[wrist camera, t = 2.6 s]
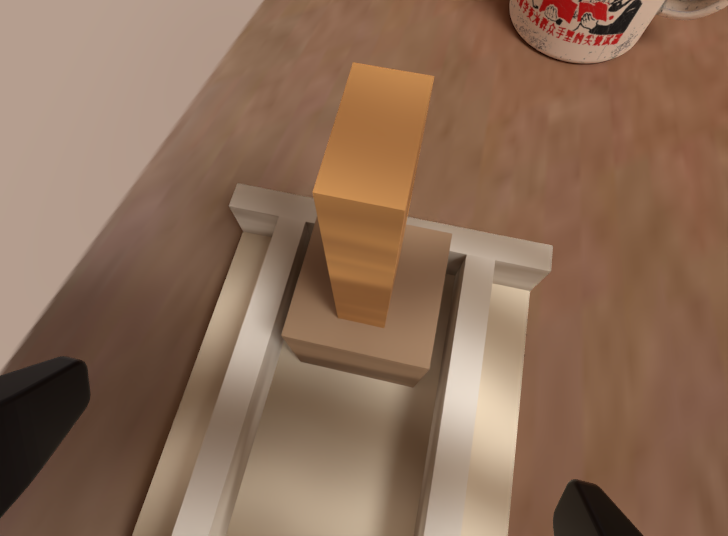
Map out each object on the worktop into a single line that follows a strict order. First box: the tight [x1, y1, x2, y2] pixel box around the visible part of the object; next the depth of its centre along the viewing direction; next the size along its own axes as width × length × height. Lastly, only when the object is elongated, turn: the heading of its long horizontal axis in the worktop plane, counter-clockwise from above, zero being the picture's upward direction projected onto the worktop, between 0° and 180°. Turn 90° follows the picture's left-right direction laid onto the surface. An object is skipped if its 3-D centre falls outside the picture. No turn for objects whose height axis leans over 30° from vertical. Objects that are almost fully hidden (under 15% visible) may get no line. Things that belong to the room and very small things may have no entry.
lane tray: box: [132, 183, 553, 536], centre depth 18 cm, size 20×14×4 cm
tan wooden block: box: [281, 62, 452, 388], centre depth 14 cm, size 5×5×13 cm
